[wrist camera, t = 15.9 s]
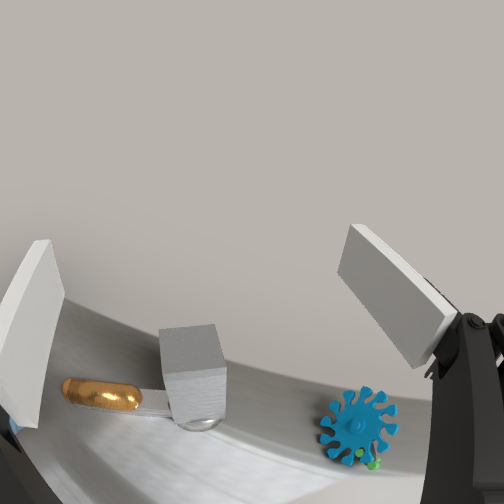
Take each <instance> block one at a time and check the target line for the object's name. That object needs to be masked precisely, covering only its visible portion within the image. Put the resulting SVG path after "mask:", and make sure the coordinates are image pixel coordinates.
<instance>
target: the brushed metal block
mask: <svg viewBox="0 0 504 504" xmlns="http://www.w3.org/2000/svg"><path fill="white" fill-rule="evenodd" d="M159 341H160V354H161V365H162V375H163V379H164V383H165V388H166V392H167V396H168V400H169V404H170V408H171V412H172V415H173V419H174V423H175V424H184V423H193V422H201V421H209V420H216V419H222V418H225V409H226V368H227V367H226V363H225V360H224V356H223V353H222V349H221V346H220V342H219V338H218V335H217V331H216V327H215V324H210V325H201V326H192V327H181V328H171V329H159Z"/></svg>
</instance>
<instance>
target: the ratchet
mask: <svg viewBox="0 0 504 504" xmlns="http://www.w3.org/2000/svg"><path fill="white" fill-rule="evenodd" d="M62 394H63V396H64V398H65V399H66V400H67V401H68V402H70V403H73V404H75V406H76V407H80V408H85V409H92V410H98V411H105V412H112V413H121V414H130V415H140V416H152V417H167V418H172V419H173V415H172V412H171V408H170V404H169V400H168V396H167V392H166V390H151V389H138V388H137V387H136V386H133V385H130V384H119V383H110V382H101V381H93V380H86V379H79V378H68V379H66V380H65V381H64V382H63V384H62ZM173 420H174V419H173ZM221 420H222V419H216V420H209V421H201V422H193V423H184V424H177V425H178V426H180V427H181V428H183V429H185V430H188V431H192V432H203V431H207V430H210V429H212V428H214V427H215V426H217V425H218V424H219V423H220V421H221Z"/></svg>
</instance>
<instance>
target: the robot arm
mask: <svg viewBox="0 0 504 504" xmlns="http://www.w3.org/2000/svg"><path fill="white" fill-rule="evenodd" d="M337 273H338V275H339V276H340V277H341V278H342V279H343V281H344V282H345V283H346V284H347V285H348V287H349V288H350V289H351V290H352V291H353V293H354V294H355V295H356V297H357V298H358V299H359V300H360V301H361V303H362V304H363V305H364V306H365V308H366V309H367V310H368V311H369V313H370V314H371V315H372V316H373V318H374V319H375V320H376V322H377V323H378V324H379V325H380V327H381V328H382V329H383V331H384V332H385V333H386V334H387V336H388V337H389V338H390V340H391V341H392V342H393V344H394V345H395V346H396V348H397V349H398V350H399V351H400V353H401V354H402V355H403V357H404V358H405V359H406V361H407V362H408V363H409V365H410V366H411V367H412V369H415V368H417V367H419V366H422V365H424V364H426V362H427V361H428V359H429V358H430V356H431V355H432V353H433V354H434V355H435V357H436V359H435V360H434V362H433V363H432V365H431V366H430V368H429V369H428V371H427V372H426V373H425V377H424V378H427V376H428V375H429V374H430V372H433V374H432V376H431V377H430V379H432V380H433V395H432V417H431V431H430V442H429V452H428V460H427V467H426V474H425V480H424V486H423V492H422V497H421V502H420V504H504V360H503V361H502V363H501V364H500V365H499V367H497V365H496V361H497V359H498V358H499V357H500V355H501V354H502V355H503V357H504V314H501V313H500V314H497V315H496V316H495V318H494V319H493V321H492V323H485V322H484V321H483V320H482V319H481V318H480V317H479V316H477V315H475V314H473V313H465V314H464V315H462V314H461V313H460V312H459V311H458V310H457V309H456V308H455V307H454V306H453V304H451V302H450V301H449V300H447V299H446V298H445V297H444V296H443V295H442V294H440V292H439V291H438V290H437V289H436V288H434V286H433V285H432V284H431V283H430V282H429V281H428V280H427V279H425V278H424V277H422V276H421V275H420V274H419V273H418V272H417V271H415V270H414V269H413V268H412V267H411V266H410V265H409V264H408V263H407V262H406V261H405V260H404V259H402V258H401V257H400V256H399V255H398V254H397V253H396V252H395V251H393V250H392V249H391V248H390V247H389V246H388V245H387V244H385V243H384V242H383V241H382V240H381V239H380V238H379V237H377V236H376V235H375V234H374V233H373V232H372V231H370V230H369V229H368V228H367V227H366V226H364V225H363V224H351V225H350V228H349V232H348V235H347V239H346V243H345V247H344V250H343V254H342V258H341V261H340V264H339V268H338V271H337ZM64 296H65V292H64V289H63V285H62V282H61V278H60V275H59V271H58V268H57V264H56V260H55V256H54V253H53V248H52V244H51V240H50V239H48V240H36V241H35V242H34V243H33V245H32V246H31V248H30V250H29V251H28V253H27V255H26V256H25V258H24V260H23V262H22V263H21V265H20V267H19V269H18V271H17V273H16V275H15V276H14V278H13V280H12V282H11V284H10V286H9V288H8V290H7V292H6V294H5V296H4V298H3V300H2V302H1V304H0V504H63V503H62V502H61V501H60V500H59V498H58V497H57V496H56V495H55V493H54V492H53V491H52V490H51V488H50V487H49V486H48V484H47V483H46V482H45V480H44V479H43V478H42V476H41V475H40V473H39V472H38V470H37V469H36V468H35V466H34V465H33V463H32V462H31V460H30V459H29V457H28V456H27V454H26V452H25V451H24V449H23V448H22V446H21V444H20V443H19V441H18V439H17V438H16V434H17V432H18V431H20V430H21V429H23V428H25V427H31V428H38V420H39V412H40V404H41V397H42V391H43V385H44V379H45V374H46V369H47V364H48V359H49V354H50V350H51V345H52V341H53V337H54V333H55V329H56V325H57V321H58V317H59V314H60V310H61V307H62V303H63V300H64Z"/></svg>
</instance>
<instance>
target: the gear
mask: <svg viewBox="0 0 504 504" xmlns="http://www.w3.org/2000/svg"><path fill="white" fill-rule="evenodd" d="M372 393H373V390H371V389H370V388H368V387H365V386H363V387H362V388H361V393H360V397H359V399H358V401H357V402H356V403H355V404H354V405H351V401H352V400H353V399H354V397H355V392H354V391H351V390H349V391H345V392H344V393H343V396H344V398H345V402H346V404H345V409H344V411H343V412H342V413H340V407H341V404H340V403H339V402H338V401H333V402H332V403H331V404H330V405H329V409H330V410H332V411H334V413H335V414H336V417H337V422H336V423H335V424H333V423H332V419H331V418H329V417H326V416H324V418H323V419H322V421H321V423H320V425H321V426H324V427H331V428H332V429H333V430H335V432H336V434H335V436H334V437H331V436H330V435H328V434H322V435H321V438H320V442H321V443H322V444H328V443H330V442H333V441H339V442H340V443H341V446H340V447H339V448H338V449H334V448H330V449H329V450H328V451H327V453H328V455H329V457H330V458H333V459H334V458H337V457H338V456H339V454H340V453H341V452H342V451H344V450H346V449H348V448H351V454H350V455H347V456H345V457H343V458H342V461H341V462H342V463H344V464H345V465H348V466H351V465H353V463H354V459H355V456H357V457H361V458H360V462H361V463H364V464H365V465H367V468H368V469H369V470H376V469H378V468H379V463H378V462H380V458H379V457H378V455H377V452H376V448H375V444H374V440H377V441H378V446H377V450H378V452H380V453H383V452H385V451H387V450H388V449H389V448H390V445H389V444H388V443H387V442H385V441H384V440H383V439H382V437H381V434H380V430H381V429H382V428H383V427H385V428H386V430H387V433H388V434H390V435H395V434H396V432H397V431H398V428H399V426H398V425H396V424H386V423H384V422H383V421H382V420H381V416H382V415H383V414H384V413H387V414H388V415H390V416H396V415H397V406H395V405H390V406H388V407H387V408H385V409H381V410H377V409H375V405H376V404H377V403H379V402H382V403H383V402H386V401H387V400H388V397H387V395H386V394H385V393H384V392H383V391H380V392H378V394H377V395H376V397H375V398H374V399H373V400H372V401H371V402H369V403H367V404H364V399H365V398H367V397H369V396H370V395H371V394H372Z"/></svg>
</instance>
